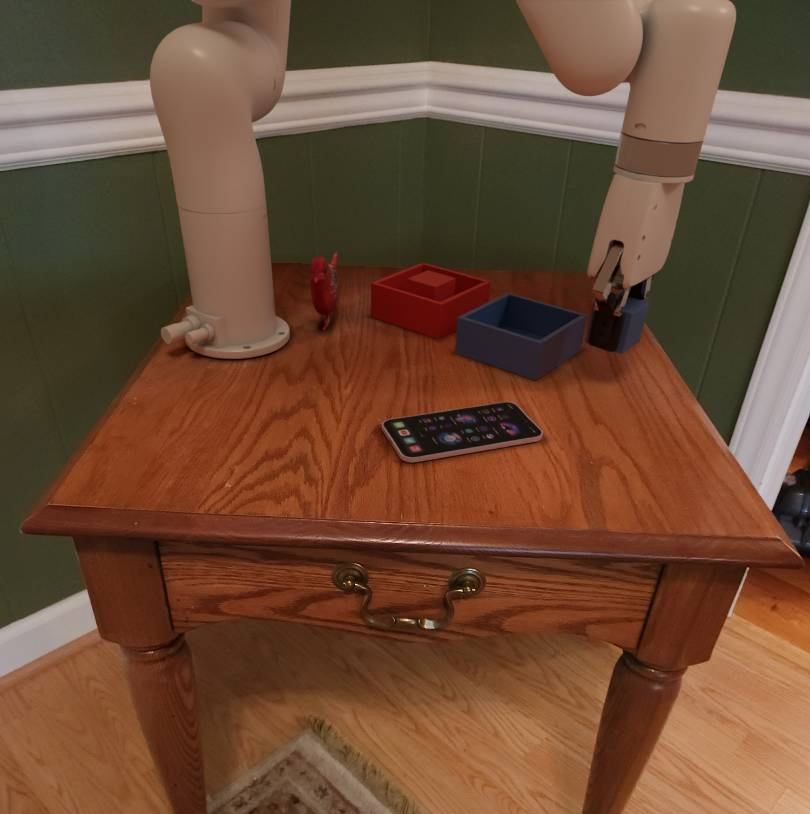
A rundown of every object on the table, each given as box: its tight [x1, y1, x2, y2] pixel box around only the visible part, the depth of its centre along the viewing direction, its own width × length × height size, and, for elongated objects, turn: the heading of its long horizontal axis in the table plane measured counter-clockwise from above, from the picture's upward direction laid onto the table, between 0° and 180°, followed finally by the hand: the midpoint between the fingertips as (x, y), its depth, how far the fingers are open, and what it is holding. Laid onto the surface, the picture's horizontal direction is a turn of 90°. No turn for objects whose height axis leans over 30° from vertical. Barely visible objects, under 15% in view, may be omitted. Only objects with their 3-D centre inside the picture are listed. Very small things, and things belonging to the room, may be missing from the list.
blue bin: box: [454, 292, 589, 382], centre depth 87 cm, size 11×11×4 cm
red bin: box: [370, 262, 492, 340], centre depth 96 cm, size 11×11×4 cm
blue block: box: [584, 291, 650, 355], centre depth 79 cm, size 4×4×4 cm
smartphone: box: [381, 401, 544, 463], centre depth 72 cm, size 8×1×15 cm
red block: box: [407, 270, 456, 302], centre depth 95 cm, size 4×4×4 cm
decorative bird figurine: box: [309, 250, 339, 332], centre depth 92 cm, size 3×18×10 cm, turn 176°
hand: (612, 339), depth 80 cm, fingers closed on blue block, 4 cm apart
